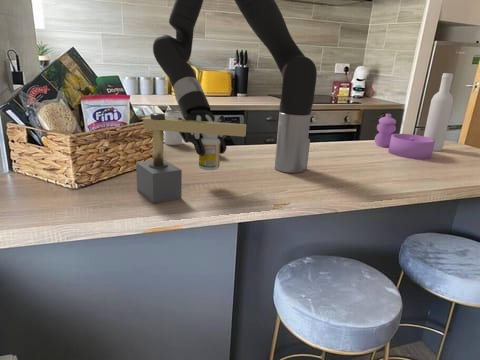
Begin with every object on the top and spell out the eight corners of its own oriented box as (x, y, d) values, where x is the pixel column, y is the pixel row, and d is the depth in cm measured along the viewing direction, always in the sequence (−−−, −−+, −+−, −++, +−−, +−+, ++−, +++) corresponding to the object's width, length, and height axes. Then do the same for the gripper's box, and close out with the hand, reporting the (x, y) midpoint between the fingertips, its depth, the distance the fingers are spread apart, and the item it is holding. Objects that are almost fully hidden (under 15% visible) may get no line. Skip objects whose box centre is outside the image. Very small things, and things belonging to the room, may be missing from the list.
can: (184, 142, 144) (184, 110, 140) (179, 146, 138) (180, 113, 134) (167, 141, 145) (167, 109, 141) (162, 144, 138) (162, 111, 135)
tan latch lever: (243, 170, 89) (246, 119, 85) (242, 174, 86) (245, 121, 82) (148, 162, 91) (147, 112, 87) (143, 166, 88) (142, 114, 84)
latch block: (163, 185, 97) (163, 158, 95) (181, 198, 90) (181, 169, 87) (137, 189, 93) (136, 161, 91) (153, 203, 86) (152, 172, 83)
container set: (440, 158, 143) (448, 123, 138) (411, 160, 136) (418, 124, 132) (389, 143, 164) (395, 112, 160) (362, 144, 158) (367, 112, 153)
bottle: (426, 145, 162) (442, 72, 152) (445, 150, 156) (463, 74, 147) (417, 148, 157) (433, 72, 147) (436, 152, 151) (454, 74, 142)
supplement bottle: (209, 171, 94) (210, 133, 91) (194, 167, 98) (194, 130, 95) (223, 167, 98) (225, 131, 95) (209, 163, 102) (209, 127, 99)
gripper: (170, 90, 94) (193, 148, 88) (219, 89, 102) (243, 142, 96) (161, 108, 99) (182, 164, 94) (209, 106, 108) (230, 157, 102)
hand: (213, 153), depth 95 cm, fingers closed on supplement bottle, 5 cm apart
